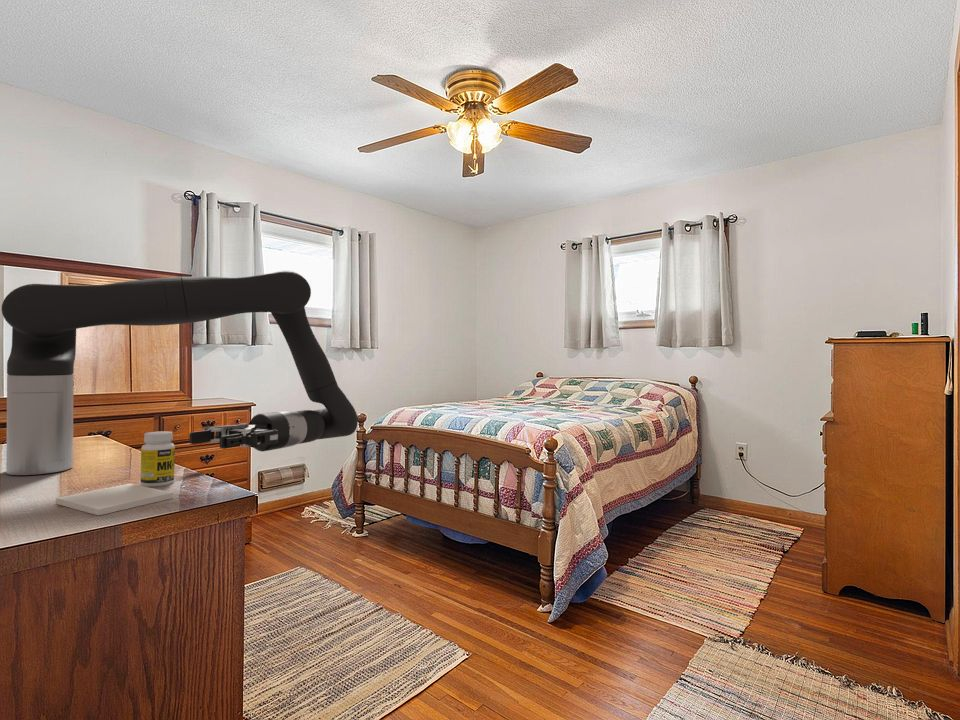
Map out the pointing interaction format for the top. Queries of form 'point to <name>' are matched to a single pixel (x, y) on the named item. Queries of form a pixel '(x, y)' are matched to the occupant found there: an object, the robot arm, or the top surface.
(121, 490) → the mat
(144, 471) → the supplement bottle
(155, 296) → the robot arm
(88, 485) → the top surface
